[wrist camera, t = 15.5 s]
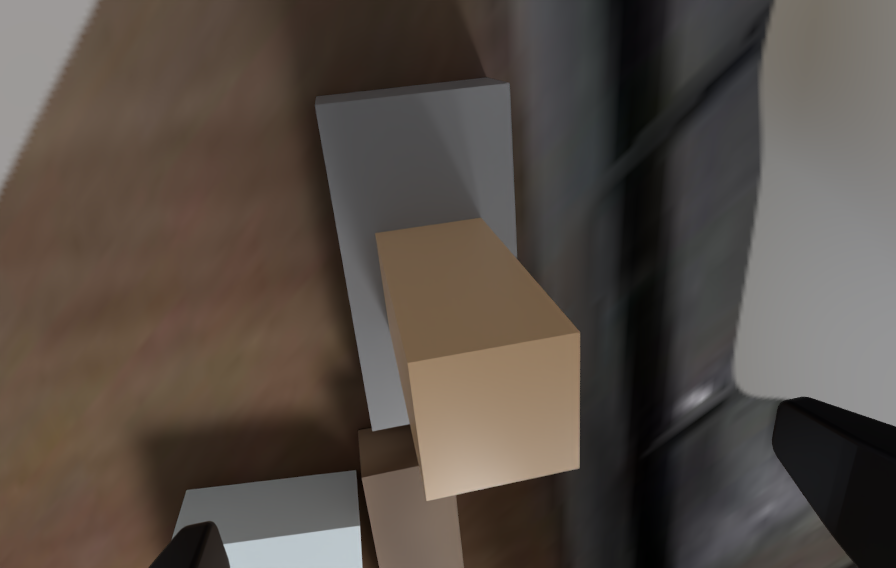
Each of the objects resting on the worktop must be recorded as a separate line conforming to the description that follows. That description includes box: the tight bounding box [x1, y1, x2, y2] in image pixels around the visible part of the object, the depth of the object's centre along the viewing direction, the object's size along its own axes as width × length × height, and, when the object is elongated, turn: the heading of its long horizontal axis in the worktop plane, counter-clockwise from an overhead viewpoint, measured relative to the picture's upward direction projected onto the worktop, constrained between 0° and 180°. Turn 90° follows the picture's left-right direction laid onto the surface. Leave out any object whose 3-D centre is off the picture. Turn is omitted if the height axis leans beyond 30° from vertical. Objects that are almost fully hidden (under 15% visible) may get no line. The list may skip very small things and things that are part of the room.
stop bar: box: [358, 424, 464, 568], centre depth 22 cm, size 3×9×2 cm, turn 5°
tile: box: [172, 470, 362, 568], centre depth 21 cm, size 6×6×3 cm
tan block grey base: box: [315, 77, 580, 501], centre depth 15 cm, size 5×10×10 cm, turn 5°
